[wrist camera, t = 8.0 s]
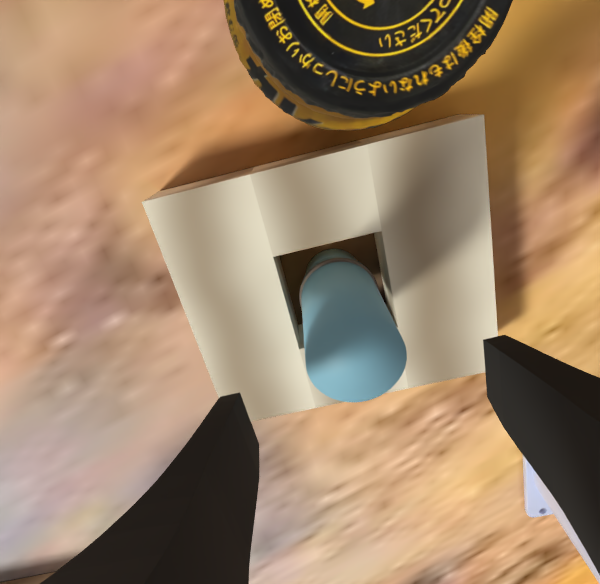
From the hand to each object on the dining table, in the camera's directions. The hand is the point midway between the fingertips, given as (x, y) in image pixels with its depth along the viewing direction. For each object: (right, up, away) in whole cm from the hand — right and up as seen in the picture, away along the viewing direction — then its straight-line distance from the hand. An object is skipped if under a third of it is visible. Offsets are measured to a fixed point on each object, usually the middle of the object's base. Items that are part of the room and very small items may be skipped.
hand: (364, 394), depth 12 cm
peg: (0, +4, +9) cm, 10 cm away
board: (0, +4, +9) cm, 10 cm away
